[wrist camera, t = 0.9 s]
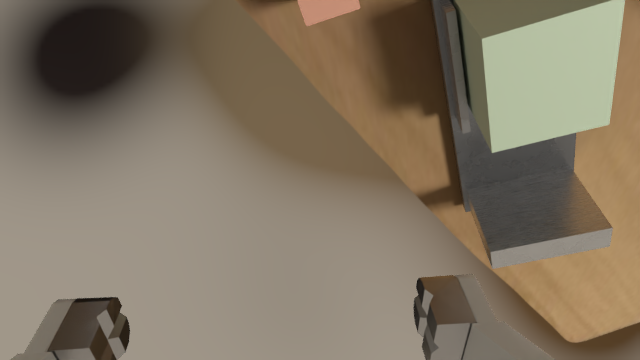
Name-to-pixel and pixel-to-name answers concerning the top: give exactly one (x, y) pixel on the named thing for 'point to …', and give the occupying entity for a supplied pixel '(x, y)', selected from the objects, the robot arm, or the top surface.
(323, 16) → the block
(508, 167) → the tray
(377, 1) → the top surface
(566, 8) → the pale green block
